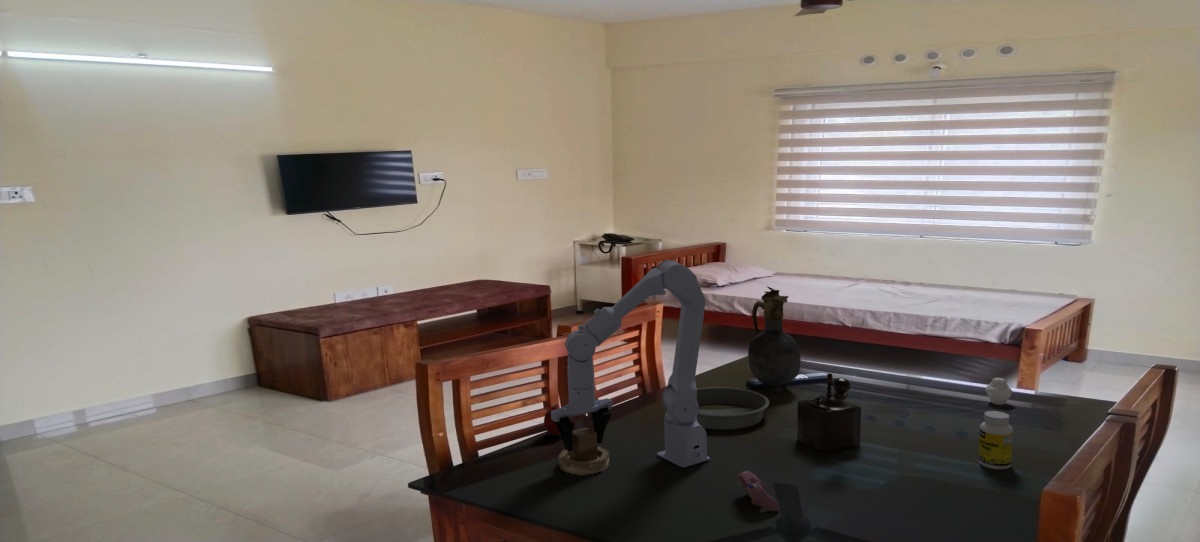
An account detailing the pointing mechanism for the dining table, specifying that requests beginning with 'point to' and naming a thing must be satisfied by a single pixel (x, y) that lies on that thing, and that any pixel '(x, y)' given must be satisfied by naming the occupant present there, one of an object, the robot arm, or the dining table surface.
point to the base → (584, 463)
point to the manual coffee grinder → (830, 419)
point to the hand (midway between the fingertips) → (583, 446)
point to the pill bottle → (995, 441)
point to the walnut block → (584, 445)
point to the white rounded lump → (998, 391)
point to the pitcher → (773, 346)
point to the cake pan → (730, 416)
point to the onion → (551, 422)
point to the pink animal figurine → (757, 491)
